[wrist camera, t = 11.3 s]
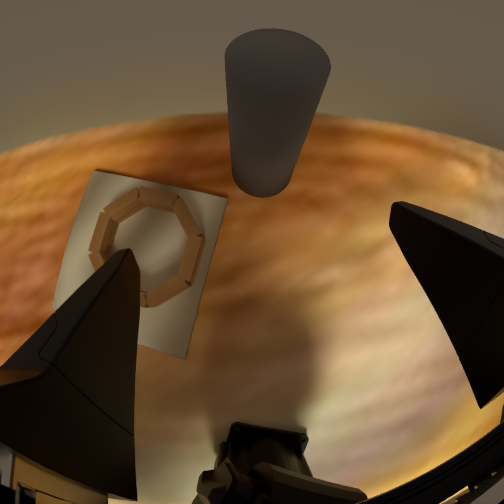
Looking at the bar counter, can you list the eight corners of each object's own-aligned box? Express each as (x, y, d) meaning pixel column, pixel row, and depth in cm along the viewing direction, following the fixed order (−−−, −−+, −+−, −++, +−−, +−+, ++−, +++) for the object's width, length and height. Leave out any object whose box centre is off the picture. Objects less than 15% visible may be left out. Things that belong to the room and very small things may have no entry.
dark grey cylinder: (296, 153, 24) (334, 42, 12) (284, 204, 24) (324, 105, 11) (241, 139, 25) (241, 22, 12) (225, 189, 24) (209, 81, 11)
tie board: (227, 200, 24) (226, 189, 21) (186, 357, 21) (179, 364, 19) (95, 172, 24) (83, 161, 21) (54, 308, 21) (39, 307, 19)
